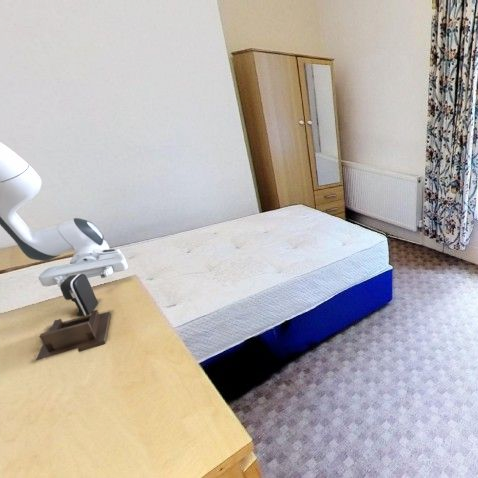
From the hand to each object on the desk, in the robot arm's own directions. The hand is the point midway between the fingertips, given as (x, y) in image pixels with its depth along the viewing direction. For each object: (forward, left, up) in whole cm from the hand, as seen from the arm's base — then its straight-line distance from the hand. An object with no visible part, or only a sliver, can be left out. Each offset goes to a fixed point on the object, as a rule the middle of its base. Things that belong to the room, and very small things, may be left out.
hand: (83, 279), depth 100 cm
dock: (-5, -23, -6) cm, 24 cm away
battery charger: (-2, -9, -6) cm, 11 cm away
